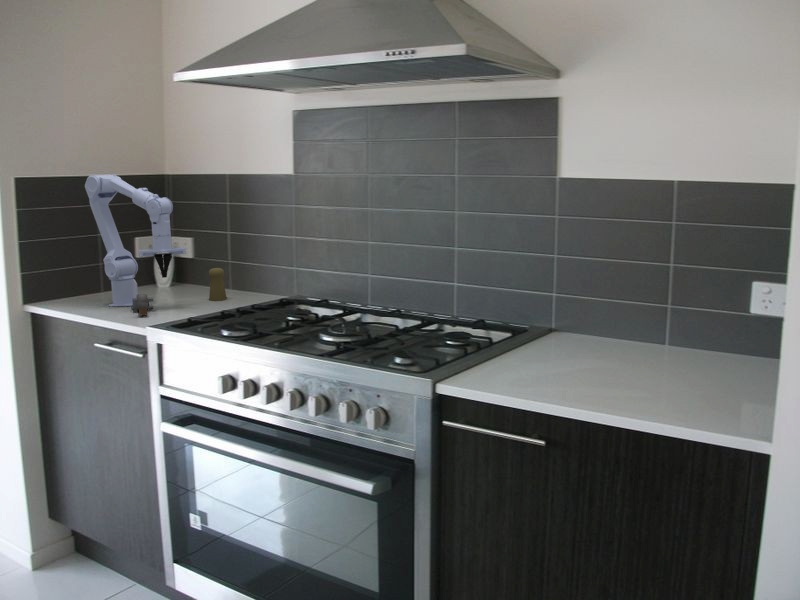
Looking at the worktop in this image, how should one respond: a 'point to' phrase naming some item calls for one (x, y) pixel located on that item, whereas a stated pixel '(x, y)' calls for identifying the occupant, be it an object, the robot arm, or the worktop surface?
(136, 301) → the keeper
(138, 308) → the pintle base
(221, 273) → the cork
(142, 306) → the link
